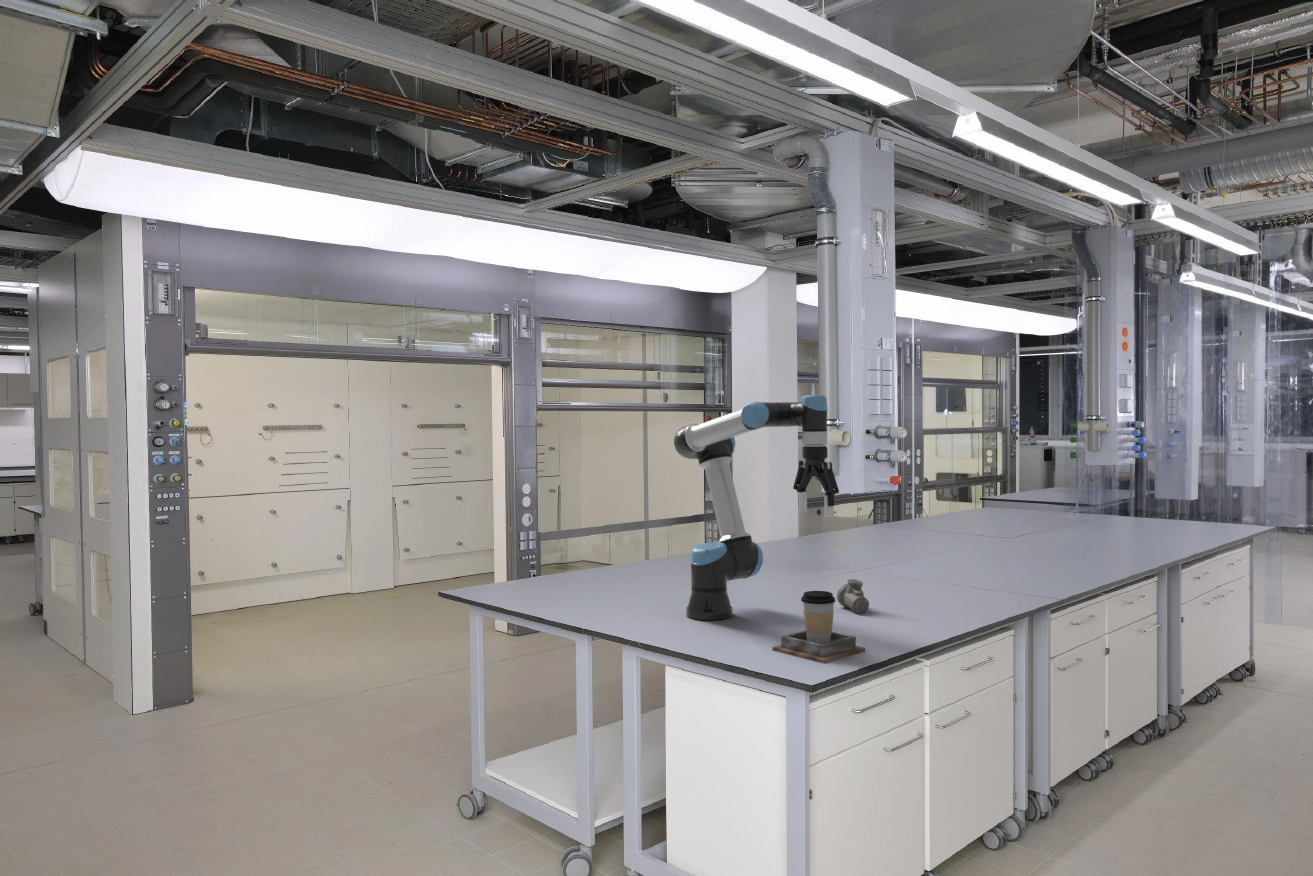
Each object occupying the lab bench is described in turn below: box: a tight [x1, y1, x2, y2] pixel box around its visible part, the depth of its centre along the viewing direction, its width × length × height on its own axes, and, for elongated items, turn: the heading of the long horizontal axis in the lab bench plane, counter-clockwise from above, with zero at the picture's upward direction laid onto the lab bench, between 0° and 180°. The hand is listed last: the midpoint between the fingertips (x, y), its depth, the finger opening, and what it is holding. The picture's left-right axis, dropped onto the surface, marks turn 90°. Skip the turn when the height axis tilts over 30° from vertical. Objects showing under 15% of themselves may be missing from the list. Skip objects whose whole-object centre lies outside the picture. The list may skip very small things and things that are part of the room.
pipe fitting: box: [836, 578, 870, 615], centre depth 293 cm, size 12×8×10 cm
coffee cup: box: [800, 590, 836, 644], centre depth 243 cm, size 9×9×15 cm
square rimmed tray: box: [771, 629, 866, 664], centre depth 244 cm, size 18×18×4 cm
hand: (815, 515), depth 269 cm, fingers open, 13 cm apart
